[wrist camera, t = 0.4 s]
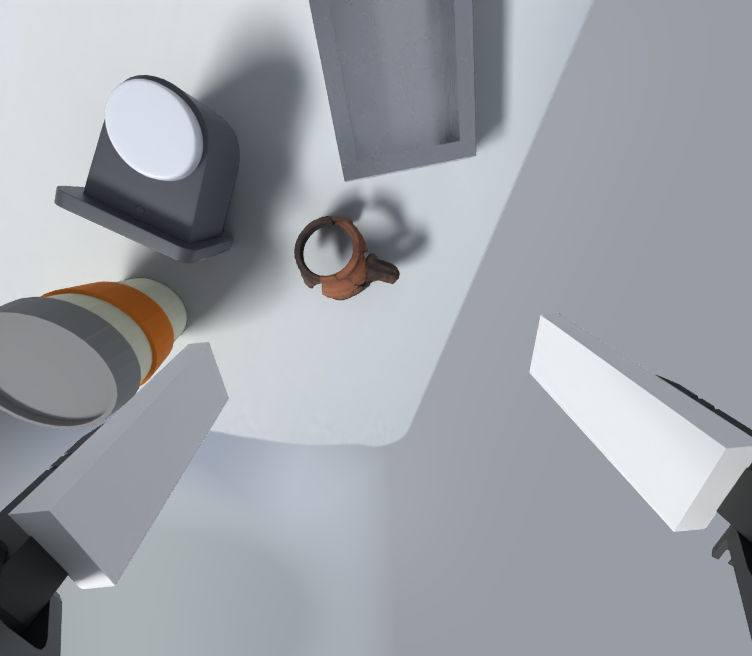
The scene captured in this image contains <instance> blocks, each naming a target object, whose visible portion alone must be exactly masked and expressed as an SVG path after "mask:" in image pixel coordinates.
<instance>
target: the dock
mask: <svg viewBox="0 0 752 656" xmlns="http://www.w3.org/2000/svg"><path fill="white" fill-rule="evenodd" d="M309 3H310V8H311V13H312V18H313V23H314V29H315V34H316V39H317V44H318V49H319V54H320V59H321V64H322V69H323V74H324V79H325V84H326V89H327V94H328V99H329V105H330V110H331V115H332V120H333V125H334V130H335V135H336V140H337V145H338V150H339V155H340V160H341V165H342V170H343V175H344V180H345V182H350V181H355V180H360V179H365V178H370V177H375V176H380V175H386V174H391V173H396V172H401V171H406V170H411V169H416V168H422V167H427V166H432V165H437V164H442V163H447V162H452V161H458V160H462V159H466V158H470V157H473V156H476V129H475V86H474V42H473V0H309Z"/></svg>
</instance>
